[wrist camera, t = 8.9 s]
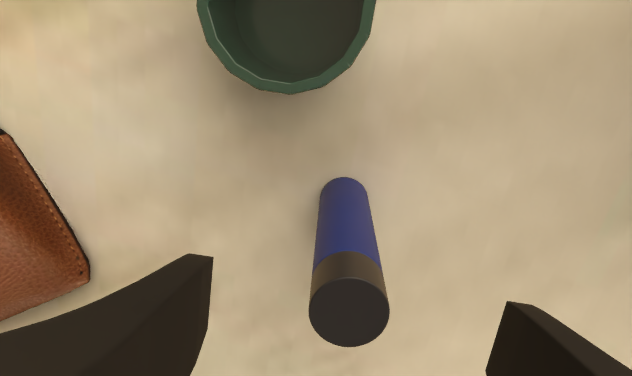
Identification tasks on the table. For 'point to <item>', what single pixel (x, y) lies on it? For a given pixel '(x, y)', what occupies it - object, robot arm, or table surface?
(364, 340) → the blue marker
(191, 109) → the table surface
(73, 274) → the sunglasses case
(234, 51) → the tumbler
